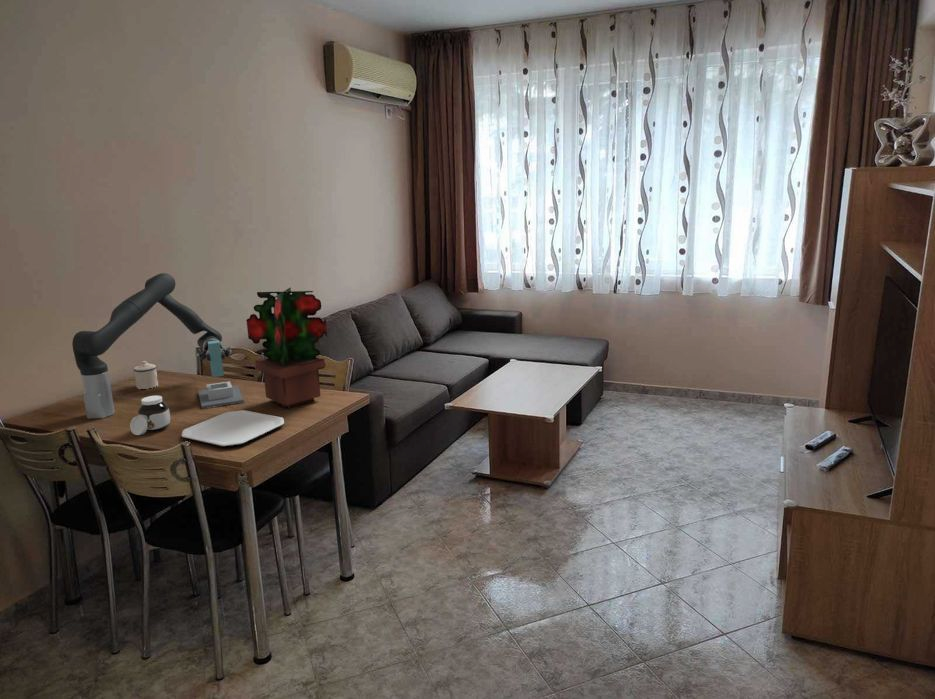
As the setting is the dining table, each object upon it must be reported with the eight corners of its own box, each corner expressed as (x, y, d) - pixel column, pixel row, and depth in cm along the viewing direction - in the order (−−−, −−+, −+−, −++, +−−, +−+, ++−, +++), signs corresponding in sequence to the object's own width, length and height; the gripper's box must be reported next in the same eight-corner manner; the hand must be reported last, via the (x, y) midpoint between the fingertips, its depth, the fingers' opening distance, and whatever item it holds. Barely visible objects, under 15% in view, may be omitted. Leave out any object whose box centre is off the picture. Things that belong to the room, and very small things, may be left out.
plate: (173, 439, 234) (172, 433, 234) (235, 413, 259) (235, 408, 259) (233, 453, 221) (232, 447, 221) (293, 424, 246) (292, 419, 245)
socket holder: (243, 402, 271) (242, 390, 269) (201, 408, 264) (200, 396, 263) (237, 387, 290) (236, 376, 289) (198, 393, 284) (196, 381, 282)
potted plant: (332, 400, 271) (323, 290, 259) (282, 414, 256) (271, 298, 244) (303, 389, 286) (294, 285, 275) (255, 401, 271) (243, 292, 260)
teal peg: (223, 375, 274) (220, 342, 270) (212, 377, 272) (208, 343, 268) (222, 372, 278) (219, 340, 274) (211, 374, 276) (207, 341, 272)
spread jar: (174, 424, 248) (169, 394, 245) (162, 435, 237) (157, 404, 234) (140, 425, 248) (136, 395, 245) (127, 437, 237) (122, 406, 234)
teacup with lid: (163, 385, 296) (159, 359, 293) (145, 391, 289) (141, 365, 286) (145, 382, 302) (141, 357, 299) (127, 387, 294) (123, 362, 291)
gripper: (193, 341, 282) (196, 351, 267) (229, 337, 287) (233, 346, 272) (195, 359, 284) (198, 369, 268) (231, 354, 289) (235, 364, 274)
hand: (216, 357), depth 270 cm, fingers closed on teal peg, 4 cm apart
